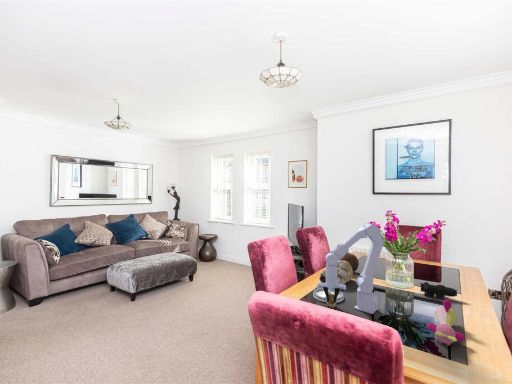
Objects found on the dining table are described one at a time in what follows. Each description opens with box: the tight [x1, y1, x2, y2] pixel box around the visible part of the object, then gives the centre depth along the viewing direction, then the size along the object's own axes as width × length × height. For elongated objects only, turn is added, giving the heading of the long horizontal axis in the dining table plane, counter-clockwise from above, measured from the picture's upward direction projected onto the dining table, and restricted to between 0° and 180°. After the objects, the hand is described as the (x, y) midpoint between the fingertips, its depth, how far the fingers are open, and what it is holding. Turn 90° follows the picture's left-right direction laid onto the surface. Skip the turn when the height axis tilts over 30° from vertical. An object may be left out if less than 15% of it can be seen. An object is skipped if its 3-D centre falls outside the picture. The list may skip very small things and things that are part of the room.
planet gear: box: [326, 294, 337, 309], centre depth 140 cm, size 5×5×6 cm
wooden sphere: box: [338, 252, 360, 273], centre depth 198 cm, size 15×15×15 cm
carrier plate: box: [312, 287, 344, 304], centre depth 152 cm, size 17×17×4 cm
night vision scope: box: [419, 281, 458, 300], centre depth 152 cm, size 8×18×10 cm
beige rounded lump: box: [319, 260, 354, 285], centre depth 174 cm, size 16×15×26 cm
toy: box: [426, 299, 466, 346], centre depth 113 cm, size 12×12×30 cm
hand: (331, 301), depth 140 cm, fingers closed on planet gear, 3 cm apart
